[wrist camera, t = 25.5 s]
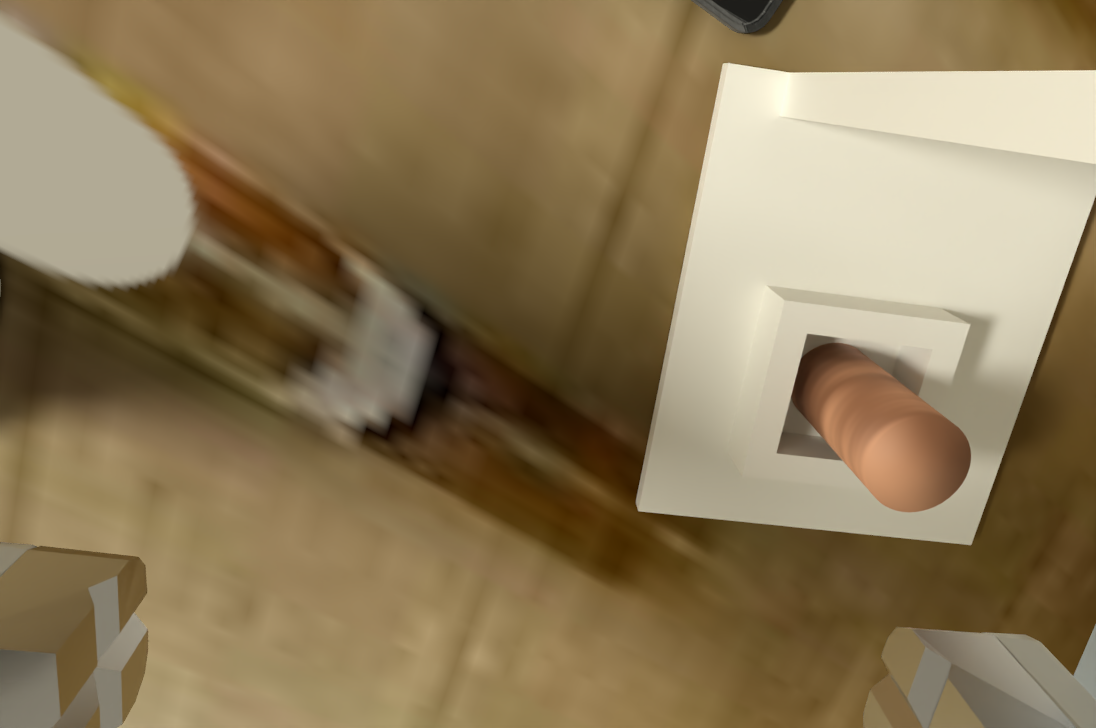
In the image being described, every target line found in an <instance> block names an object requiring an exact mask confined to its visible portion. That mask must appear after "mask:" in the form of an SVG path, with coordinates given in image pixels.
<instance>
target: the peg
mask: <svg viewBox="0 0 1096 728" xmlns="http://www.w3.org/2000/svg"><path fill="white" fill-rule="evenodd" d="M791 399H792V402H793V403H794V405H795V407H796V408H797V409H798V410H799V411H800V413H801V414H802V415H803V416H804V417H805V418H806V419H807V421H808V422H809V423H810V424H811V425H812V426H813V427H814V429H815V430H816V431H817V432H818V433H819V434H820V435H821V436H822V438H823V439H824V440H825V441H826V442H827V443H828V444H829V446H830V447H831V448H832V449H833V450H834V451H835V452H836V454H837V455H838V456H839V457H840V458H841V459H842V460H843V462H844V463H845V464H846V465H847V466H848V467H849V468H850V470H851V471H852V472H853V473H854V474H855V475H856V476H857V478H858V479H859V480H860V481H861V482H862V483H863V484H864V486H865V487H866V488H867V489H868V490H869V491H870V492H871V494H872V495H873V496H874V497H875V498H876V499H877V500H878V501H879V502H880V503H881V504H883V505H884V506H886V507H888V508H890V509H893V510H896V511H900V512H919V511H924V510H927V509H930V508H933V507H935V506H937V505H939V504H941V503H943V502H944V501H946V500H947V499H948V498H950V497H951V496H952V495H953V494H954V493H955V492H956V491H957V490H958V489H959V487H960V486H961V485H962V483H963V482H964V480H965V478H966V476H967V474H968V471H969V468H970V463H971V449H970V445H969V442H968V440H967V438H966V436H965V434H964V433H963V432H962V431H961V430H960V428H959V427H957V426H956V425H955V424H953V423H952V422H951V421H949V420H948V419H947V418H946V417H944V416H943V415H942V414H940V413H939V412H938V411H937V410H935V409H934V408H933V407H931V406H930V405H929V404H928V403H926V402H925V401H924V400H922V399H921V398H920V397H919V396H917V395H916V394H915V393H913V392H912V391H911V390H910V389H908V388H907V387H906V386H904V385H903V384H902V383H901V382H899V381H898V380H897V379H895V378H894V377H893V376H892V375H890V374H889V373H888V372H886V371H885V370H884V369H883V368H881V367H880V366H879V365H877V364H876V363H875V362H874V361H872V360H871V359H870V358H868V357H867V356H866V355H864V354H863V353H862V352H861V351H859V350H858V349H857V348H855V347H853V346H851V345H848V344H844V343H828V344H824V345H820V346H818V347H816V348H814V349H812V350H810V351H809V352H808V353H806V354H805V355H804V356H803V357H802V358H801V360H800V363H799V367H798V371H797V375H796V379H795V383H794V387H793V391H792V395H791Z"/></svg>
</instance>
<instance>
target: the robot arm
mask: <svg viewBox="0 0 1096 728" xmlns="http://www.w3.org/2000/svg"><path fill="white" fill-rule="evenodd" d="M0 295H1V281H0ZM146 594H147V584H146V567H145V564H144V563H143V562H142V561H141V559H140V558H139V557H136V556H127V555H118V554H109V553H100V552H91V551H82V550H73V549H64V548H55V547H46V546H39V547H37V546H34V545H28V544H16V543H5V542H0V728H117V727H119V726H120V725H122V724H123V722H124V721H125V719H126V717H127V715H128V713H129V712H130V710H131V708H132V706H133V705H134V703H135V701H136V698H137V695H138V692H139V689H140V686H141V683H142V680H143V677H144V674H145V668H146V661H147V654H148V629H147V628H146V627H145V625H144V624H143V623H142V622H141V620H140V619H139V618H138V617H137V615H136V614H135V613H134V612H135V610H136V609H137V607H138V606H139V604H140V603H141V601H142V600H143V598H144V597H145V595H146ZM881 658H882V660H883V663H884V665H885V667H886V669H887V671H888V675H887V676H886V677H885V678H883V679H882V680H881V681H880V682H878V683H877V684H876V685H875V686H874V687H872V688H871V689H870V692H869V695H868V699H867V703H866V706H865V710H864V713H863V724H864V728H1096V700H1095V699H1094V698H1093V697H1092V695H1091V694H1090V693H1089V692H1088V691H1087V690H1086V689H1085V688H1084V687H1083V686H1082V685H1081V684H1080V683H1079V682H1078V681H1077V680H1076V679H1075V678H1074V677H1073V676H1072V674H1071V673H1070V672H1069V671H1068V670H1067V669H1066V668H1065V667H1064V666H1063V665H1062V664H1061V663H1060V662H1059V661H1058V660H1057V659H1056V658H1055V657H1054V656H1053V655H1052V653H1051V652H1050V651H1049V650H1048V649H1047V648H1046V647H1045V646H1044V645H1043V644H1042V643H1041V642H1040V641H1038V640H1036V639H1034V638H1032V637H1029V636H1027V635H1022V634H1004V633H986V632H983V633H972V632H959V631H945V630H932V629H919V628H905V627H896V628H895V630H894V631H893V632H892V633H891V634H890V636H889V637H888V638H887V641H886V644H885V647H884V650H883V652H882V655H881Z"/></svg>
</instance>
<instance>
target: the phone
mask: <svg viewBox="0 0 1096 728" xmlns="http://www.w3.org/2000/svg"><path fill="white" fill-rule="evenodd" d="M691 1H693V2H694V3H695V4H697V5H698V6H700V7H701V8H702V9H704V10H705V11H706V12H708V13H709V14H710V15H712V16H713V17H714V18H716V19H717V20H719V21H720V22H721V23H723V24H724V25H725V26H727V27H728V28H729V29H731V30H733V31H735V32H737V33H744V34H745V33H751V32H755V31H758V30H759V29H761V28H763V27H764V26H765V25H766V24H767V23H768V21H769V20H770V19H771V17H772V16H773V14H774V13H775V11H776V10H777V8H778V7H779V5H780V4H781V2H782V1H783V0H691Z"/></svg>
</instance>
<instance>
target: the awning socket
mask: <svg viewBox="0 0 1096 728" xmlns="http://www.w3.org/2000/svg"><path fill="white" fill-rule="evenodd" d="M1095 196H1096V70H1090V71H952V72H814V73H789V72H782V71H776V70H769V69H763V68H757V67H750V66H744V65H737V64H731V63H723V66H722V71H721V76H720V81H719V86H718V91H717V96H716V101H715V106H714V111H713V116H712V121H711V126H710V131H709V136H708V141H707V147H706V152H705V157H704V162H703V167H702V172H701V177H700V182H699V187H698V192H697V197H696V202H695V207H694V212H693V217H692V222H691V227H690V232H689V237H688V242H687V247H686V252H685V257H684V262H683V267H682V272H681V277H680V282H679V287H678V292H677V297H676V302H675V307H674V312H673V317H672V322H671V327H670V332H669V337H668V342H667V347H666V352H665V357H664V362H663V367H662V372H661V377H660V382H659V387H658V392H657V397H656V402H655V408H654V413H653V418H652V423H651V428H650V433H649V438H648V443H647V448H646V453H645V458H644V463H643V468H642V473H641V478H640V483H639V488H638V493H637V498H636V506H637V509H638V511H641V512H651V513H661V514H671V515H680V516H690V517H700V518H710V519H720V520H729V521H739V522H749V523H759V524H769V525H779V526H788V527H798V528H808V529H818V530H828V531H837V532H847V533H857V534H867V535H877V536H887V537H896V538H906V539H916V540H926V541H936V542H945V543H955V544H965V545H971V544H972V541H973V539H974V536H975V533H976V530H977V527H978V525H979V522H980V519H981V516H982V513H983V511H984V508H985V505H986V502H987V499H988V497H989V494H990V491H991V488H992V485H993V483H994V480H995V477H996V474H997V471H998V468H999V466H1000V463H1001V460H1002V457H1003V454H1004V452H1005V449H1006V446H1007V443H1008V440H1009V438H1010V435H1011V432H1012V429H1013V426H1014V424H1015V421H1016V418H1017V415H1018V412H1019V410H1020V407H1021V404H1022V401H1023V398H1024V396H1025V393H1026V390H1027V387H1028V384H1029V381H1030V379H1031V376H1032V373H1033V370H1034V367H1035V365H1036V362H1037V359H1038V356H1039V353H1040V351H1041V348H1042V345H1043V342H1044V339H1045V337H1046V334H1047V331H1048V328H1049V325H1050V323H1051V320H1052V317H1053V314H1054V311H1055V309H1056V306H1057V303H1058V300H1059V297H1060V295H1061V292H1062V289H1063V286H1064V283H1065V280H1066V278H1067V275H1068V272H1069V269H1070V266H1071V264H1072V261H1073V258H1074V255H1075V252H1076V250H1077V247H1078V244H1079V241H1080V238H1081V236H1082V233H1083V230H1084V227H1085V224H1086V222H1087V219H1088V216H1089V213H1090V210H1091V208H1092V205H1093V202H1094V199H1095ZM828 343H844V344H848V345H851V346H853V347H855V348H857V349H858V350H859V351H861V352H862V353H863V354H864V355H866V356H867V357H868V358H870V359H871V360H872V361H874V362H875V363H876V364H877V365H879V366H880V367H881V368H883V369H884V370H885V371H886V372H888V373H889V374H890V375H892V376H893V377H894V378H895V379H897V380H898V381H899V382H901V383H902V384H903V385H904V386H906V387H907V388H908V389H910V390H911V391H912V392H913V393H915V394H916V395H917V396H919V397H920V398H921V399H922V400H924V401H925V402H926V403H928V404H929V405H930V406H931V407H933V408H934V409H935V410H937V411H938V412H939V413H940V414H942V415H943V416H944V417H946V418H947V419H948V420H949V421H951V422H952V423H953V424H955V425H956V426H957V427H959V428H960V430H961V431H962V432H963V433H964V434H965V436H966V438H967V440H968V442H969V445H970V449H971V463H970V468H969V471H968V474H967V476H966V478H965V480H964V482H963V483H962V485H961V486H960V487H959V489H958V490H957V491H956V492H955V493H954V494H953V495H952V496H951V497H950V498H948V499H947V500H946V501H944V502H943V503H941V504H939V505H937V506H935V507H933V508H930V509H927V510H924V511H919V512H900V511H896V510H893V509H890V508H888V507H886V506H884V505H883V504H881V503H880V502H879V501H878V500H877V499H876V498H875V497H874V496H873V495H872V494H871V492H870V491H869V490H868V489H867V488H866V487H865V486H864V484H863V483H862V482H861V481H860V480H859V479H858V478H857V476H856V475H855V474H854V473H853V472H852V471H851V470H850V468H849V467H848V466H847V465H846V464H845V463H844V462H843V460H842V459H841V458H840V457H839V456H838V455H837V454H836V452H835V451H834V450H833V449H832V448H831V447H830V446H829V444H828V443H827V442H826V441H825V440H824V439H823V438H822V436H821V435H820V434H819V433H818V432H817V431H816V430H815V429H814V427H813V426H812V425H811V424H810V423H809V422H808V421H807V419H806V418H805V417H804V416H803V415H802V414H801V413H800V411H799V410H798V409H797V408H796V407H795V405H794V403H793V402H792V399H791V395H792V391H793V387H794V383H795V379H796V375H797V371H798V367H799V363H800V360H801V358H802V357H803V356H804V355H805V354H806V353H808V352H809V351H810V350H812V349H814V348H816V347H818V346H820V345H824V344H828ZM1073 677H1074V678H1075V679H1076V680H1077V681H1078V682H1079V683H1080V684H1081V685H1082V686H1083V687H1084V688H1085V689H1086V690H1087V691H1088V692H1089V693H1090V694H1091V695H1092V697H1093V698H1094V699H1095V700H1096V624H1095V627H1094V629H1093V631H1092V634H1091V636H1090V638H1089V641H1088V643H1087V645H1086V648H1085V650H1084V652H1083V655H1082V657H1081V659H1080V662H1079V664H1078V666H1077V669H1076V671H1075V673H1074V676H1073Z"/></svg>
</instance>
